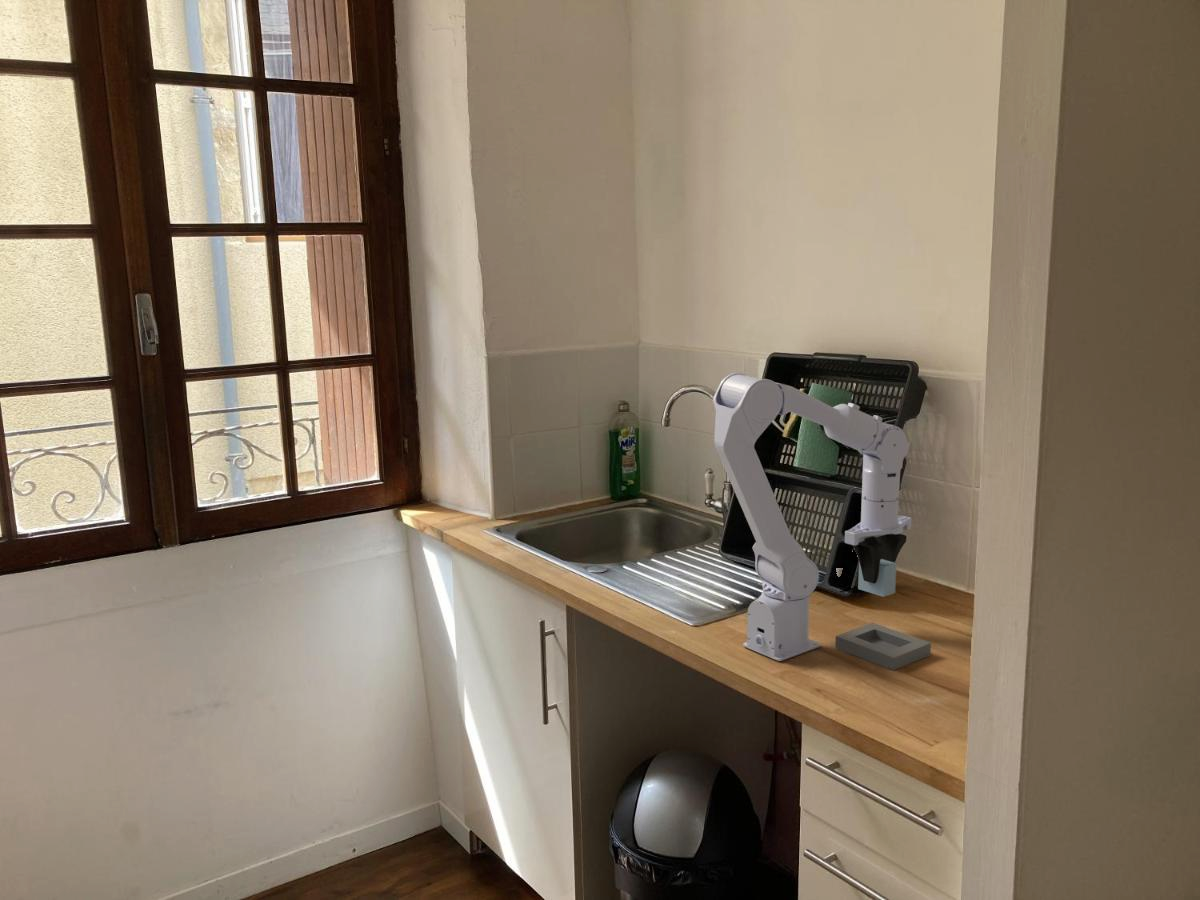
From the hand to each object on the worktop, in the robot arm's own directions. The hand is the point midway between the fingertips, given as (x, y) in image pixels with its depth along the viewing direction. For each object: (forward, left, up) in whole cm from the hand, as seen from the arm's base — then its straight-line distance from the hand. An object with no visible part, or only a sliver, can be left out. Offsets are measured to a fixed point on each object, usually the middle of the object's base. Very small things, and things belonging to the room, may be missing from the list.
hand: (876, 579), depth 161 cm
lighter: (+14, +17, -9) cm, 24 cm away
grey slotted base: (-6, -6, -9) cm, 12 cm away
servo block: (0, 0, -2) cm, 2 cm away
